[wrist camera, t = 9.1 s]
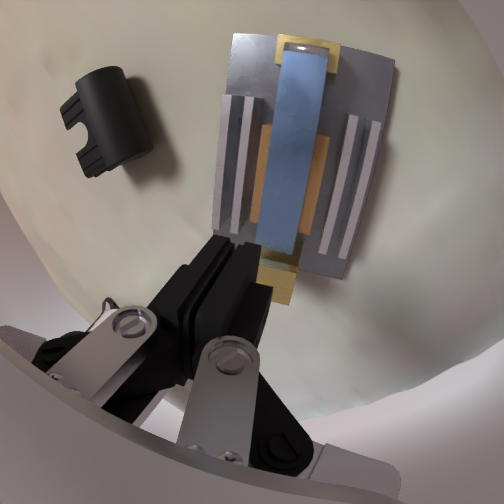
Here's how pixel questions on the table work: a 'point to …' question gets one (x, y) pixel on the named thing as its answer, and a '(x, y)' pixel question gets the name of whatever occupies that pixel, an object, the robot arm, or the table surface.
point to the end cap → (106, 121)
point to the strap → (291, 144)
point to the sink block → (323, 159)
